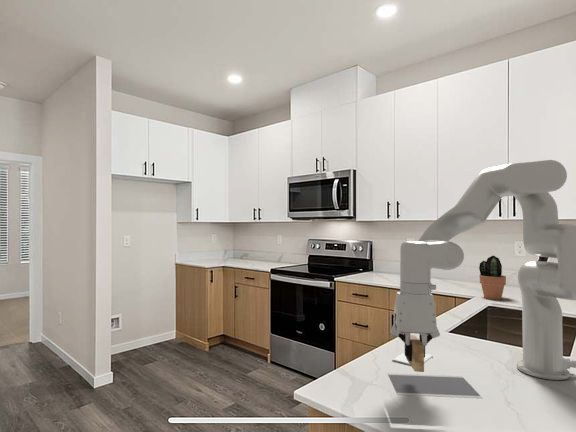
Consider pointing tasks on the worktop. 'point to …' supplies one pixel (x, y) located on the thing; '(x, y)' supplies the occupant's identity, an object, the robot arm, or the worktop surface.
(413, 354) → the wooden block
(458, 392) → the mat
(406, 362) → the external hard drive
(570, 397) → the worktop surface
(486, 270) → the potted plant
